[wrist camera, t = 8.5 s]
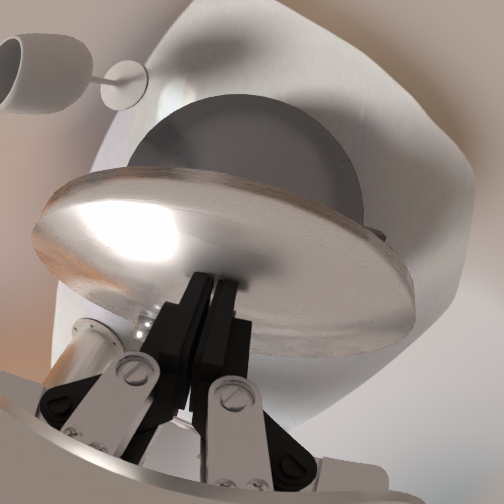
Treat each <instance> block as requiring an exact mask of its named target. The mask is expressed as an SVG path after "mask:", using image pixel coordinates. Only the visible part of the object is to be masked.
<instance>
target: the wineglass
mask: <svg viewBox="0 0 504 504" xmlns="http://www.w3.org/2000/svg"><path fill="white" fill-rule="evenodd" d="M92 70H93V59H92V56H91V53H90V51H89V50H88V48H87V47H86V46H85V44H84V43H82V42H80V41H79V40H77V39H75V38H73V37H70V36H66V35H57V34H39V33H35V34H20V35H14V36H11V37H8V38H7V39H5V40H4V41H3V42H2V43H1V44H0V112H5V113H14V114H30V115H40V114H51V113H55V112H58V111H61V110H64V109H65V108H67V107H68V106H70V105H71V104H73V103H74V102H76V101H77V100H78V99H79V98H80V97H81V95H82V94H83V93H84V91H85V90H86V88H87V86H88V84H89V82H92V83H99V84H101V97H102V99H103V102H104V103H105V104H106V106H108V107H109V108H111V109H114V110H125V109H128V108H130V107H132V106H133V105H135V104H136V103H137V102H138V101H139V100H140V99H141V98H142V96H143V94H144V92H145V90H146V87H147V73H146V71H145V69H144V67H143V66H142V65H141V64H139V63H138V62H136V61H132V60H125V61H122V62H119V63H117V64H115V65H114V66H113V67H112V68H110V69H109V71H108V72H107V73H106V75H105V77H104V78H99V77H93V76H92Z"/></svg>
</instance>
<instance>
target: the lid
mask: <svg viewBox="0 0 504 504" xmlns="http://www.w3.org/2000/svg"><path fill="white" fill-rule="evenodd" d="M31 238H32V244H33V247H34V249H35V252H36V254H37V256H38V257H39V259H40V260H41V261H42V263H43V264H44V265H45V266H46V267H47V268H48V269H49V271H50V272H51V273H52V274H54V275H55V276H56V277H57V278H58V279H59V280H60V281H62V282H63V283H64V284H65V285H67V286H68V287H69V288H71V289H72V290H74V291H75V292H77V293H78V294H80V295H81V296H83V297H85V298H86V299H88V300H89V301H91V302H93V303H95V304H97V305H98V306H100V307H102V308H104V309H106V310H108V311H110V312H112V313H114V314H116V315H119V316H121V317H123V318H125V319H127V320H130V321H132V322H135V323H136V326H135V330H134V333H133V337H132V338H134V339H137V340H139V341H142V342H144V341H145V339H146V337H147V335H148V333H149V331H150V329H151V327H152V325H153V323H154V321H155V319H156V317H157V315H158V314H159V312H160V310H161V308H162V306H163V304H164V303H165V302H166V301H168V302H171V303H175V304H179V303H180V300H181V298H182V296H183V294H184V292H185V290H186V288H187V285H188V283H189V281H190V279H191V277H192V275H193V273H194V272H196V273H200V274H205V275H208V276H209V278H208V279H209V280H213V287H212V293H211V299H210V305H211V301H212V298H213V295H214V292H215V289H216V285H217V282H222V283H223V282H224V279H227V280H231V281H236V282H239V284H238V289H237V294H236V299H235V304H234V310H233V315H232V317H235V318H240V319H244V320H249V321H252V331H251V341H250V351H249V353H253V354H261V355H270V356H283V357H336V356H346V355H354V354H360V353H366V352H370V351H374V350H378V349H381V348H384V347H387V346H390V345H392V344H394V343H396V342H398V341H400V340H401V339H403V338H404V337H405V336H407V335H408V334H409V332H410V331H411V330H412V329H413V326H414V324H415V294H414V284H413V279H412V277H411V275H410V273H409V271H408V268H407V266H406V265H405V264H404V262H403V261H402V260H401V259H400V258H399V256H398V255H397V254H396V253H395V252H394V250H393V249H392V248H391V247H389V246H388V245H387V244H386V243H385V242H383V241H382V240H381V239H380V238H378V237H377V236H376V235H375V234H373V233H372V232H371V231H370V230H368V229H367V228H365V227H363V226H362V225H360V224H358V223H357V222H355V221H353V220H351V219H350V218H348V217H346V216H344V215H343V214H341V213H339V212H337V211H335V210H334V209H332V208H330V207H327V206H325V205H322V204H320V203H318V202H315V201H313V200H310V199H308V198H305V197H303V196H300V195H298V194H295V193H293V192H290V191H288V190H285V189H282V188H279V187H275V186H272V185H268V184H264V183H261V182H257V181H253V180H249V179H245V178H242V177H238V176H234V175H230V174H225V173H218V172H211V171H204V170H197V169H189V168H181V167H172V166H139V167H121V168H115V169H109V170H103V171H98V172H93V173H90V174H87V175H84V176H82V177H79V178H76V179H74V180H71V181H69V182H68V183H67V184H65V185H64V186H62V187H61V188H59V189H58V190H56V191H55V192H54V194H53V195H52V196H51V198H50V199H49V200H48V202H47V203H46V205H45V207H44V209H43V210H42V212H41V214H40V216H39V218H38V220H37V222H36V224H35V226H34V228H33V231H32V236H31ZM210 305H209V308H210Z"/></svg>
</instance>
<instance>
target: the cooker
mask: <svg viewBox="0 0 504 504" xmlns="http://www.w3.org/2000/svg"><path fill="white" fill-rule="evenodd" d="M139 166H172V167H181V168H189V169H197V170H204V171H211V172H218V173H225V174H230V175H234V176H238V177H242V178H245V179H249V180H253V181H257V182H261V183H264V184H268V185H272V186H275V187H279V188H282V189H285V190H288V191H290V192H293V193H295V194H298V195H300V196H303V197H305V198H308V199H310V200H313V201H315V202H318V203H320V204H322V205H325V206H327V207H330V208H332V209H334V210H335V211H337V212H339V213H341V214H343V215H344V216H346V217H348V218H350V219H351V220H353V221H355V222H357V223H358V224H360V225H362V226H363V212H364V208H363V200H362V192H361V188H360V185H359V181H358V178H357V175H356V173H355V170H354V168H353V166H352V163H351V161H350V159H349V158H348V156H347V155H346V153H345V151H344V150H343V148H342V147H341V145H340V144H339V143H338V142H337V140H336V139H335V138H334V137H333V136H332V135H331V133H330V132H329V131H328V130H326V129H325V128H324V127H323V126H322V125H321V124H320V123H318V122H317V121H316V120H315V119H313V118H312V117H310V116H309V115H307V114H306V113H304V112H302V111H301V110H299V109H297V108H295V107H293V106H291V105H288V104H286V103H284V102H281V101H278V100H274V99H271V98H267V97H263V96H255V95H248V94H228V95H221V96H214V97H209V98H205V99H202V100H199V101H196V102H193V103H190V104H188V105H186V106H184V107H182V108H180V109H178V110H176V111H174V112H173V113H171V114H170V115H168V116H167V117H166V118H164V119H163V120H161V121H160V122H159V123H158V124H157V125H156V126H155V127H154V128H153V129H152V130H150V131H149V132H148V134H147V135H146V136H145V137H144V139H143V140H142V141H141V142H140V144H139V145H138V146H137V148H136V150H135V151H134V153H133V155H132V157H131V158H130V160H129V163H128V165H127V167H139ZM363 227H365V226H363ZM365 228H367V229H368V230H370V231H371V232H372V233H373V234H375V235H376V236H377V237H378V238H380V239H381V240H382V241H383V242H385V240H386V236H385V235H384V234H383V233H382V232H381V231H379V230H376V229H372V228H369V227H365Z"/></svg>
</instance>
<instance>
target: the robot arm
mask: <svg viewBox="0 0 504 504" xmlns="http://www.w3.org/2000/svg"><path fill="white" fill-rule="evenodd" d="M208 278H209V276H208V275H205V274H200V273H196V272H194V273H193V275H192V277H191V279H190V281H189V283H188V285H187V288H186V290H185V292H184V294H183V296H182V298H181V300H180V303H179V304H175V303H171V302H168V301H166V302H165V303H164V304H163V306H162V308H161V310H160V312H159V314H158V315H157V317H156V319H155V321H154V323H153V325H152V327H151V329H150V331H149V333H148V335H147V337H146V339H145V341H144V343H143V345H142V347H141V349H140V351H129V352H124V349H123V346H122V344H121V342H120V341H119V339H118V338H117V337H116V336H115V335H114V334H113V333H112V332H111V331H110V330H109V329H108V328H106V327H105V326H104V325H102V324H100V323H98V322H96V321H94V320H90V319H79V320H78V321H76V322H75V324H74V325H73V327H72V336H73V339H72V340H71V342H70V343H69V344H68V346H67V347H66V349H65V350H64V352H63V353H62V354H61V356H60V357H59V359H58V360H57V362H56V363H55V365H54V366H53V368H52V369H51V371H50V372H49V374H48V375H47V377H46V378H45V380H44V381H43V383H42V384H40V383H37V382H34V381H30V380H27V379H24V378H21V377H18V376H15V375H13V374H10V373H7V372H4V371H0V504H426V503H425V502H424V501H423V500H421V499H420V498H418V497H416V496H413V495H411V494H408V493H403V492H399V491H391V490H388V488H389V478H388V475H387V473H386V471H385V470H384V469H382V468H381V467H379V466H376V465H371V464H363V463H355V462H349V461H344V460H338V459H333V458H328V457H323V458H322V459H321V458H316V457H313V456H312V455H311V454H310V453H309V452H308V451H307V450H306V449H305V448H304V447H302V446H301V445H300V444H299V443H298V442H297V441H296V440H294V439H293V438H292V437H291V436H290V435H289V434H288V433H287V432H286V431H285V430H284V429H283V428H281V427H280V426H279V425H278V424H277V423H276V422H275V421H274V420H273V419H272V418H271V417H270V416H269V415H268V414H267V413H266V412H265V411H264V410H263V408H262V400H261V395H260V392H259V390H258V389H257V387H256V386H255V385H254V384H253V383H252V382H250V381H249V380H247V371H248V361H249V351H250V341H251V331H252V321H249V320H244V319H240V318H235V317H232V315H233V310H234V304H235V299H236V294H237V289H238V284H239V282H236V281H231V280H227V279H224V282H223V283H222V282H217V285H216V289H215V292H214V295H213V298H212V301H211V305H210V299H211V293H212V287H213V280H209V279H208ZM209 305H210V308H209ZM190 387H191V393H190V404H189V412H193V417H192V426H193V427H194V428H195V429H196V431H197V432H198V433H199V434H200V482H196V481H192V480H187V479H183V478H179V477H175V476H171V475H167V474H164V473H160V472H157V471H153V470H150V469H147V468H144V467H142V465H143V464H144V462H145V460H146V458H147V456H148V454H149V452H150V450H151V448H152V446H153V444H154V442H155V440H156V438H157V436H158V434H159V432H160V430H161V429H162V425H163V423H166V422H168V421H170V420H172V419H173V416H177V413H178V410H179V409H181V410H184V409H185V406H186V402H187V399H188V395H189V391H190Z"/></svg>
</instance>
